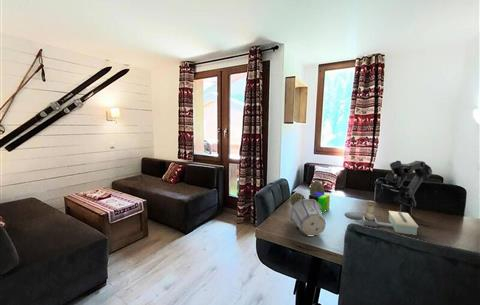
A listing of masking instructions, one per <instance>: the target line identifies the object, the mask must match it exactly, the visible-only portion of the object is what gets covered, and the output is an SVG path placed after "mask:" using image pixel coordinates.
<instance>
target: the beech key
mask: <svg viewBox="0 0 480 305" xmlns="http://www.w3.org/2000/svg"><path fill="white" fill-rule="evenodd" d="M365 204H366V210H365V211H366V214H365V217H366V220H367V221H374V218H375V207H376V205H377V204H376V201H373V200H366V201H365Z"/></svg>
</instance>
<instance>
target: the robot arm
mask: <svg viewBox="0 0 480 305" xmlns="http://www.w3.org/2000/svg"><path fill="white" fill-rule="evenodd" d="M389 166H390V170H391V173H392V174H393V175H391V174H386V175H385V177H384V180H385V181H386V184H384V182H383V181H379V180H375V181H374V187H375V188H376V190H377V192H376V198H379V197H380V196H381V195H382V193H384V190H385V189H386V190H391V191H393V192H398V193H397V194H396V195H395V197H394V199H393V200H392V201H393V202H396V204H397V205H398V204H399V205H400V210H398V211H397V212H403V213H408V214H409V215H410V216H411V217H414V215H413V214H412V211H413V209H412V208H416V206H417V201H416V200H415V196H414V195H415V193H416V192H417V190H418V189H419V188H420V185H421V184H422V182H423V181H424V180H426V179H429V177H430V176H431V175H432V174H433V170H432V167H431V166H430V165H428V164H426V161H423V160H422V161H421V160H414V161H412V162H410V163H402V162H401V160H396V161H393V162H391V163H389ZM413 173H414V174H415V175H414V176H413V178H412V180H411V181H410V182H409V184H408V185H407V186H404V185H403V183H404V182H405V181H407V180H408V178H407V177H408V175H411V174H413Z"/></svg>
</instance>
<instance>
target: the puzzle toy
mask: <svg viewBox="0 0 480 305" xmlns="http://www.w3.org/2000/svg"><path fill="white" fill-rule="evenodd" d="M330 196H331V195H330V194H326V193H324V194H322V193H317V192H315V193H313V194H311V195H310V194H309V195H308V199H314V200H315V201H317V202H318V203H319V204H320V205H321V206H322V211H321V212H324V211H325V210H327V209H329V210H330V201H331V200H330ZM327 211H328V210H327ZM324 213H325V212H324Z"/></svg>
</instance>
